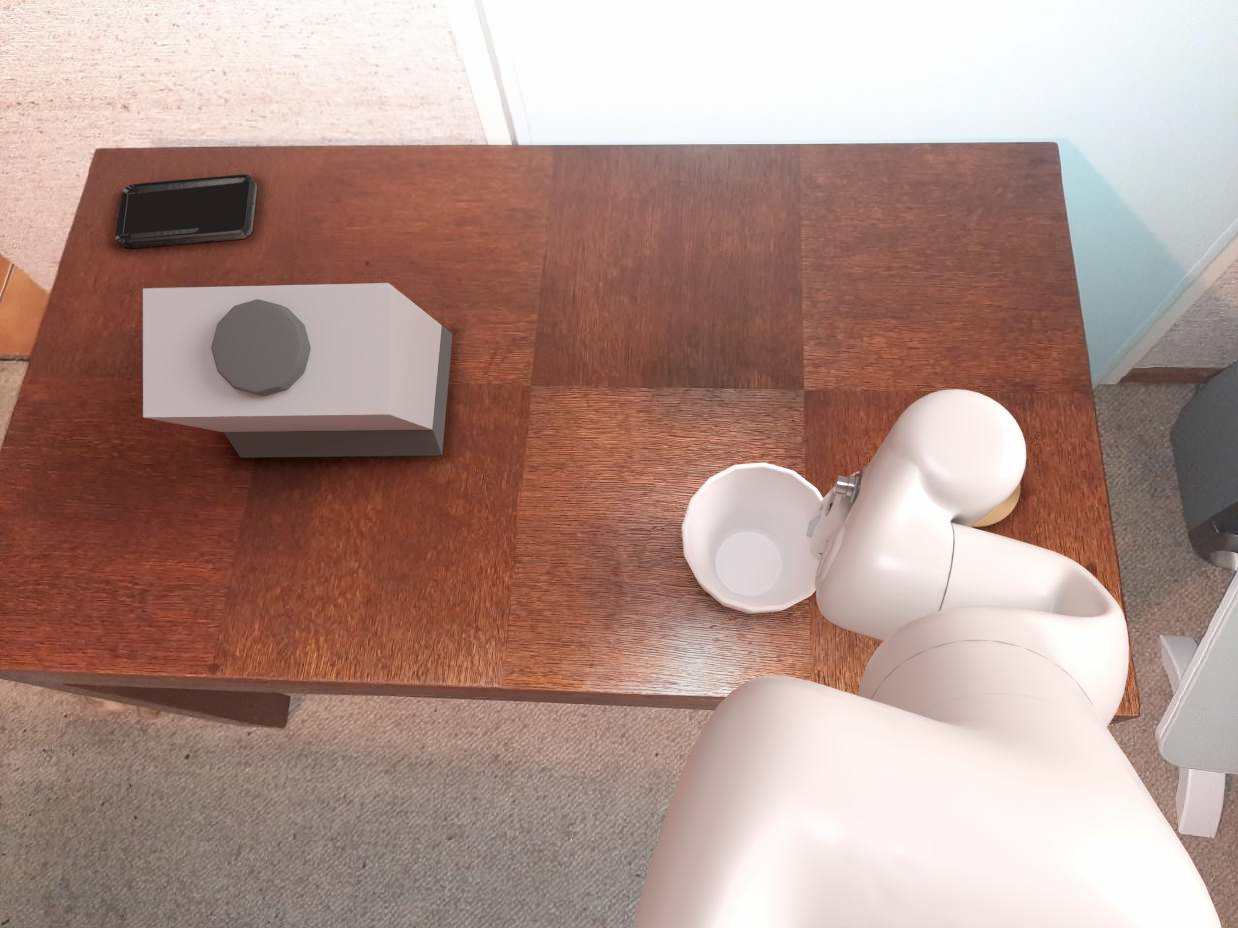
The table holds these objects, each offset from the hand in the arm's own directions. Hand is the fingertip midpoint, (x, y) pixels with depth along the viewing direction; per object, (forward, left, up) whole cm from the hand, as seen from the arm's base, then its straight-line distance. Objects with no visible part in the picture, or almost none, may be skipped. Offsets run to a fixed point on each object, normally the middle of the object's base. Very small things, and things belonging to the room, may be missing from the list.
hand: (856, 561), depth 76 cm
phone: (+53, +61, -2) cm, 81 cm away
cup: (+2, +9, -2) cm, 10 cm away
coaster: (+6, -13, -2) cm, 14 cm away
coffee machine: (+26, +45, -2) cm, 52 cm away
